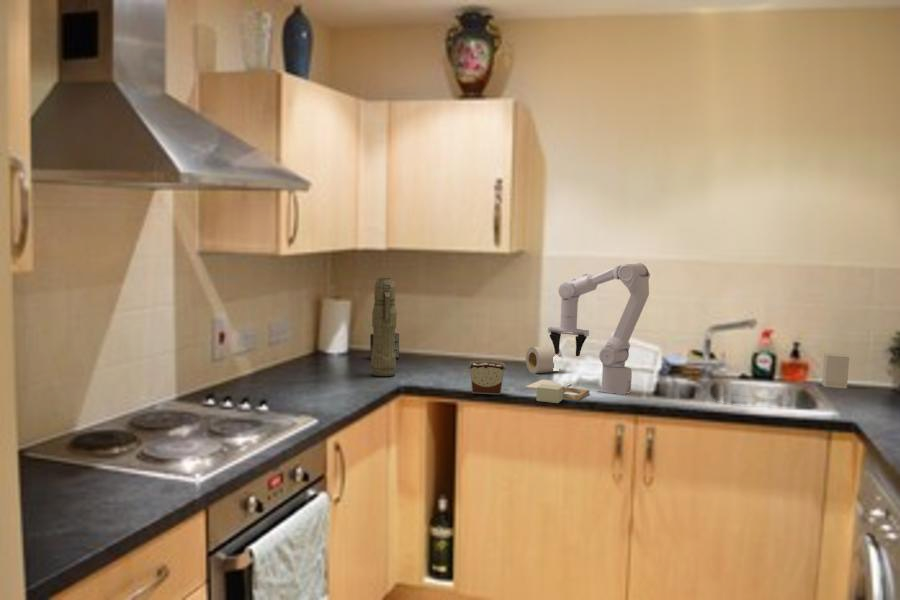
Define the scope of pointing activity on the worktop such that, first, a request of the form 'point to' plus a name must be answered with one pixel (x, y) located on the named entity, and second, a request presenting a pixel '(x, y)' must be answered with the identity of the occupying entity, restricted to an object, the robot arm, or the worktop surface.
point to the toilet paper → (541, 359)
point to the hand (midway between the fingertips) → (567, 354)
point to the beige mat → (538, 383)
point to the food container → (487, 376)
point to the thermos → (384, 328)
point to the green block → (549, 393)
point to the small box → (395, 345)
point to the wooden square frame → (574, 390)
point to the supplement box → (835, 370)
